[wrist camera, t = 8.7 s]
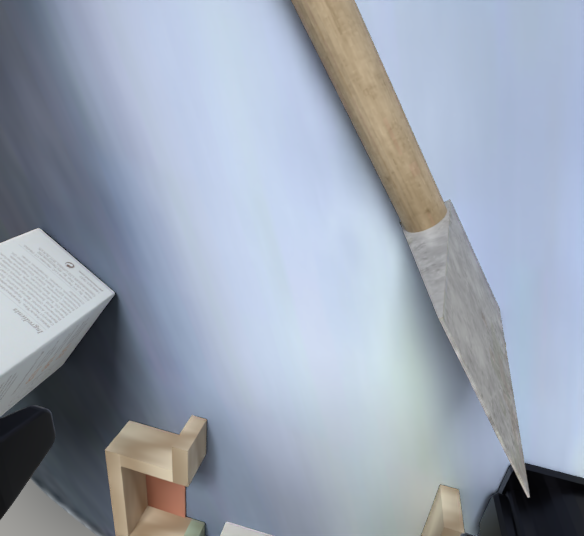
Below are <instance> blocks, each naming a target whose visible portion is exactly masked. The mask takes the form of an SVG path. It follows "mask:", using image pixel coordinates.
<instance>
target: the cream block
mask: <svg viewBox="0 0 584 536" xmlns="http://www.w3.org/2000/svg"><path fill="white" fill-rule="evenodd" d="M220 536H273V535H270V534H266V533H263V532H260V531H257V530H253V529H250V528H247V527H244V526H240V525H237V524H234V523H230V522H227V521H226V523H225V525H224V527H223V530H222V532H221V535H220Z"/></svg>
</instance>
